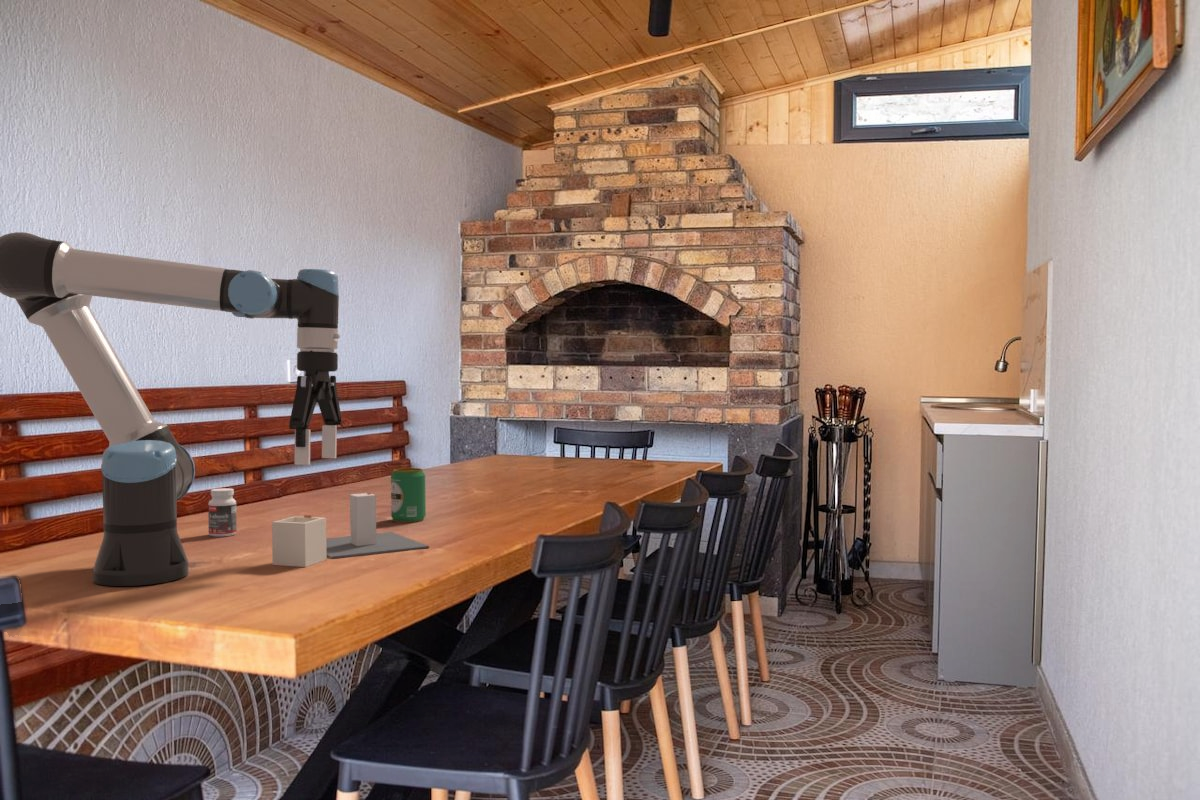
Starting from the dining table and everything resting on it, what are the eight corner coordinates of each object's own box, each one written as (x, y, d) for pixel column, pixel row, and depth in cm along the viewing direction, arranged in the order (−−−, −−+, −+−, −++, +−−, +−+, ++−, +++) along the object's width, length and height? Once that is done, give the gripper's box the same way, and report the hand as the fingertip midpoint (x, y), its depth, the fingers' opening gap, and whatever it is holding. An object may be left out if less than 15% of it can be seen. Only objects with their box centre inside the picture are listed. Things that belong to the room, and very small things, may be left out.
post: (331, 558, 192) (330, 502, 192) (300, 542, 209) (299, 491, 209) (428, 547, 203) (428, 495, 203) (391, 533, 220) (391, 484, 220)
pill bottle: (204, 537, 216) (203, 491, 216) (213, 532, 222) (213, 487, 222) (231, 537, 217) (231, 491, 216) (240, 532, 222) (239, 487, 222)
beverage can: (385, 519, 240) (384, 469, 239) (414, 516, 245) (413, 467, 244) (402, 523, 234) (402, 472, 233) (432, 520, 239) (431, 469, 238)
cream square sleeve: (305, 567, 185) (305, 520, 185) (272, 564, 187) (271, 519, 187) (326, 559, 192) (325, 515, 191) (294, 557, 194) (293, 513, 193)
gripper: (311, 350, 181) (310, 468, 182) (358, 352, 206) (357, 456, 206) (271, 349, 182) (269, 466, 182) (322, 351, 206) (321, 455, 207)
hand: (316, 461), depth 194 cm, fingers open, 13 cm apart
